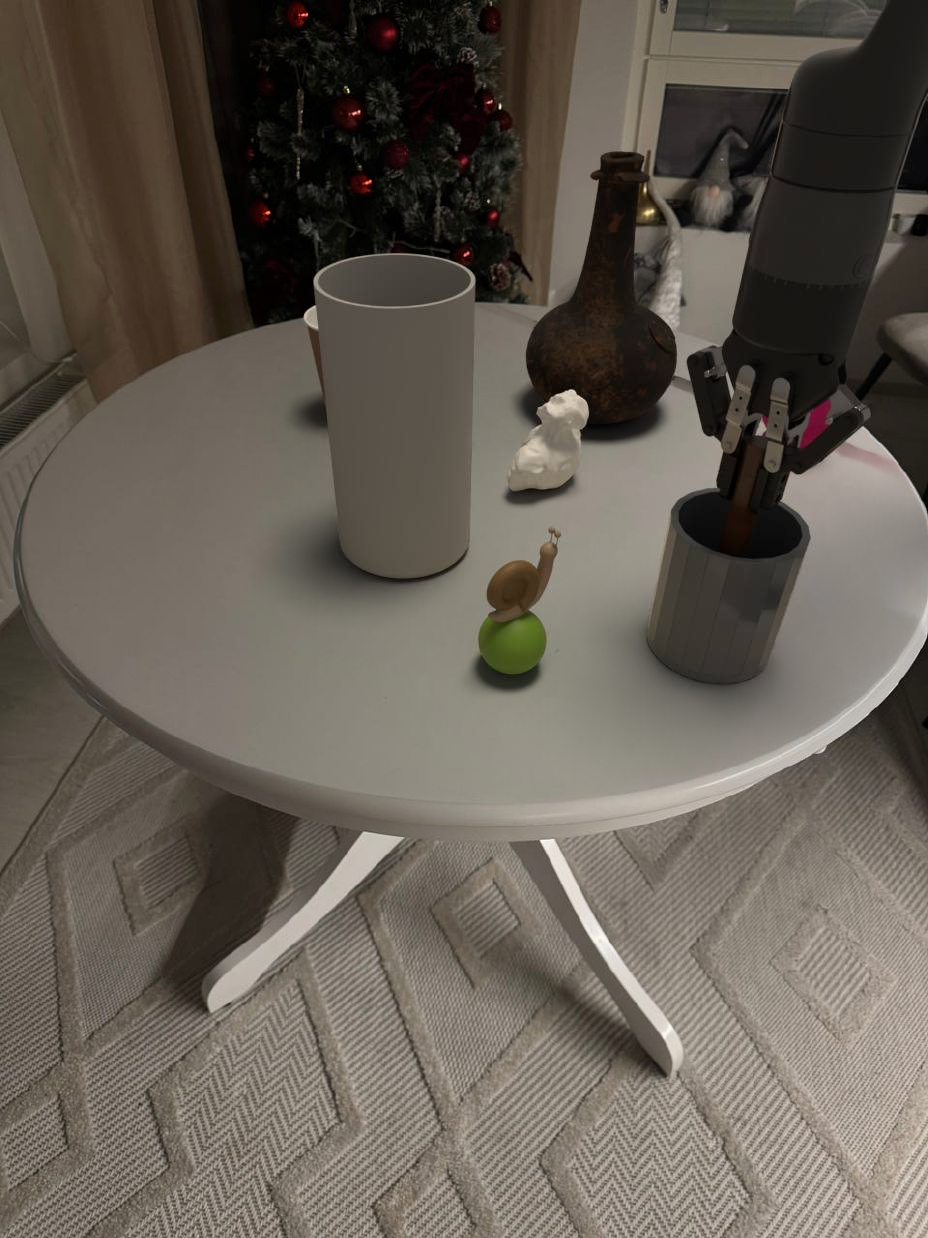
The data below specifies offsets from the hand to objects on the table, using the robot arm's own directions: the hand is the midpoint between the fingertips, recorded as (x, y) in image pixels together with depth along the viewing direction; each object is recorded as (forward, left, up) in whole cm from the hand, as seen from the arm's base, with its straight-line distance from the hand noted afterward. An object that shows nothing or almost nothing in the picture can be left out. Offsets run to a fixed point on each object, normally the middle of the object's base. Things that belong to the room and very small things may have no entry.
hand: (744, 501), depth 62 cm
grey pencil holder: (0, 0, -14) cm, 14 cm away
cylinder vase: (+10, -28, -14) cm, 33 cm away
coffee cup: (-3, -53, -14) cm, 55 cm away
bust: (-9, -27, -14) cm, 32 cm away
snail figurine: (+14, -9, -14) cm, 22 cm away
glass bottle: (-26, -35, -14) cm, 46 cm away
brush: (0, 0, -11) cm, 11 cm away
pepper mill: (-34, -13, -14) cm, 39 cm away
